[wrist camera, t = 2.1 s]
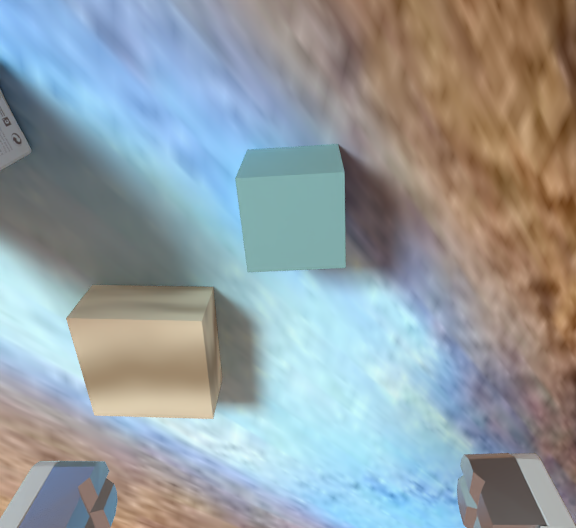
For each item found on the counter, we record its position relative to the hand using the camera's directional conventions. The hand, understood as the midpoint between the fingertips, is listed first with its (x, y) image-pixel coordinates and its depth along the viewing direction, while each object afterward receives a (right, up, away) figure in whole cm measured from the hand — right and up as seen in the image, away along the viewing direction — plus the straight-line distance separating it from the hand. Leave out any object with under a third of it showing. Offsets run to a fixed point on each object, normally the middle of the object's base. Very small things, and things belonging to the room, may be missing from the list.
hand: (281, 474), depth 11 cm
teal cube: (+1, +9, +16) cm, 18 cm away
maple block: (-9, 0, +22) cm, 23 cm away
